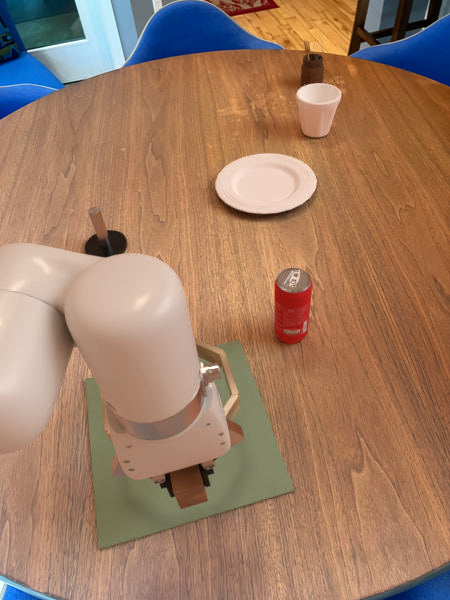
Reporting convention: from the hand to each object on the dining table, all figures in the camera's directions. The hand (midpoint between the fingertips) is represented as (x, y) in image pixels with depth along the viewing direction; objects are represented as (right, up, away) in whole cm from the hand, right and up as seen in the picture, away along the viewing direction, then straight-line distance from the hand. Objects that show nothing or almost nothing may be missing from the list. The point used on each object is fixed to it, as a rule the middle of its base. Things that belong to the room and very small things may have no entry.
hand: (187, 477), depth 51 cm
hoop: (-2, +5, +6) cm, 8 cm away
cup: (+25, +59, +61) cm, 89 cm away
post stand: (-19, +29, +40) cm, 53 cm away
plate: (+12, +42, +48) cm, 65 cm away
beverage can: (+14, +14, +23) cm, 31 cm away
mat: (-2, +1, +14) cm, 14 cm away
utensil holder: (+27, +77, +77) cm, 113 cm away
